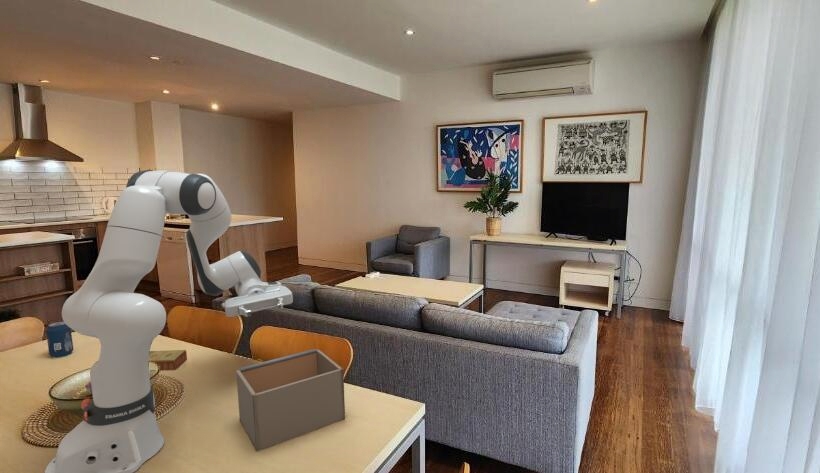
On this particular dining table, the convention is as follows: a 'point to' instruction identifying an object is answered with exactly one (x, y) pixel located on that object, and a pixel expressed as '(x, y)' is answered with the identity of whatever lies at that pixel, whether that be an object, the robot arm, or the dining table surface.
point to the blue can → (59, 339)
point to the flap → (281, 371)
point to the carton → (168, 358)
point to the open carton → (292, 405)
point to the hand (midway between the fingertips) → (264, 310)
